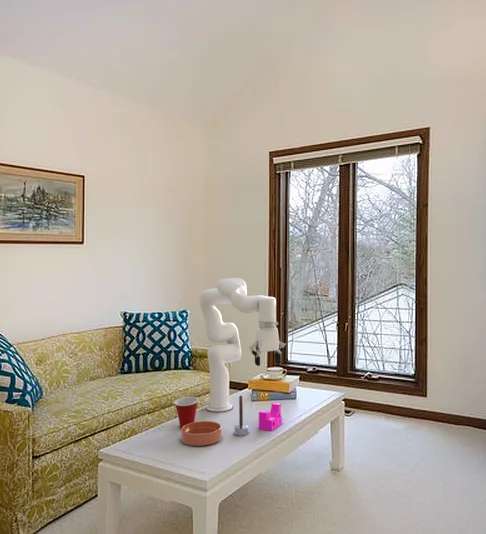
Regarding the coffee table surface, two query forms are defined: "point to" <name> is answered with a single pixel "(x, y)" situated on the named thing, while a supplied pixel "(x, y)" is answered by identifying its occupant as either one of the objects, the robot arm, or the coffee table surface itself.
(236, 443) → the coffee table surface
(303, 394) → the coffee table surface
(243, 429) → the meat pounder
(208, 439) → the bowl
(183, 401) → the plastic cup
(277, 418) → the toy block
